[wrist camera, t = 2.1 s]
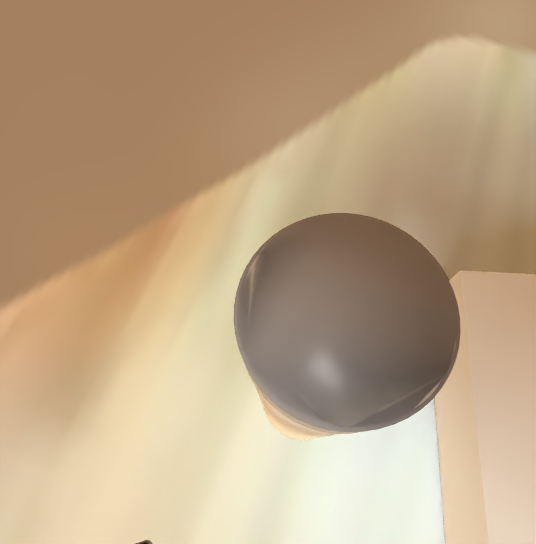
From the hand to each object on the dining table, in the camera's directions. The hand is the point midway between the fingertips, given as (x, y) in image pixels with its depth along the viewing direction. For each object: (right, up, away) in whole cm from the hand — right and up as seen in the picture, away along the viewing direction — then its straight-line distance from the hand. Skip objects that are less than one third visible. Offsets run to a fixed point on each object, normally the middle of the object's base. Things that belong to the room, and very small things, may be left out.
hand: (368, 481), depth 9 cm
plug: (-1, -1, +10) cm, 11 cm away
